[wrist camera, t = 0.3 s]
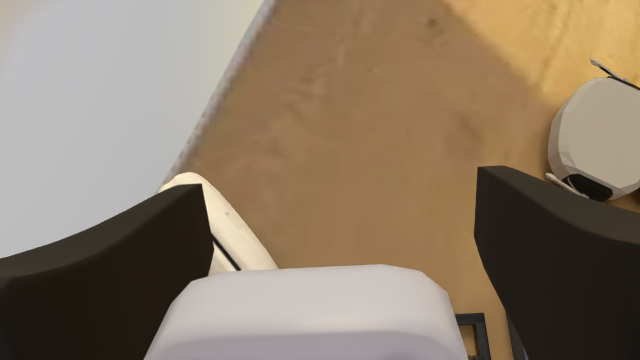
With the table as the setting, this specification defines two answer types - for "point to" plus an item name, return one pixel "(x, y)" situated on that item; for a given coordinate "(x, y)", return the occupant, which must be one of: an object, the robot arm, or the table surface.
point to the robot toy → (598, 139)
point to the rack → (476, 333)
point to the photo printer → (227, 232)
